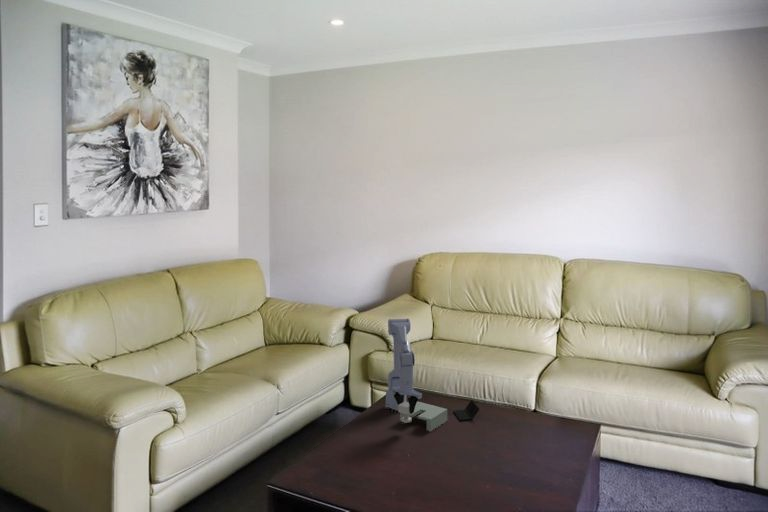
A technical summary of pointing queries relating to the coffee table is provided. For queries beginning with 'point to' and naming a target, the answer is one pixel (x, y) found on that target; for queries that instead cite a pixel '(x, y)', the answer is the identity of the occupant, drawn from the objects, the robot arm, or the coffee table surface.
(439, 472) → the coffee table surface
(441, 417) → the slot bracket
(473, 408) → the handheld gaming console
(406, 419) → the peg
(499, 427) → the coffee table surface
